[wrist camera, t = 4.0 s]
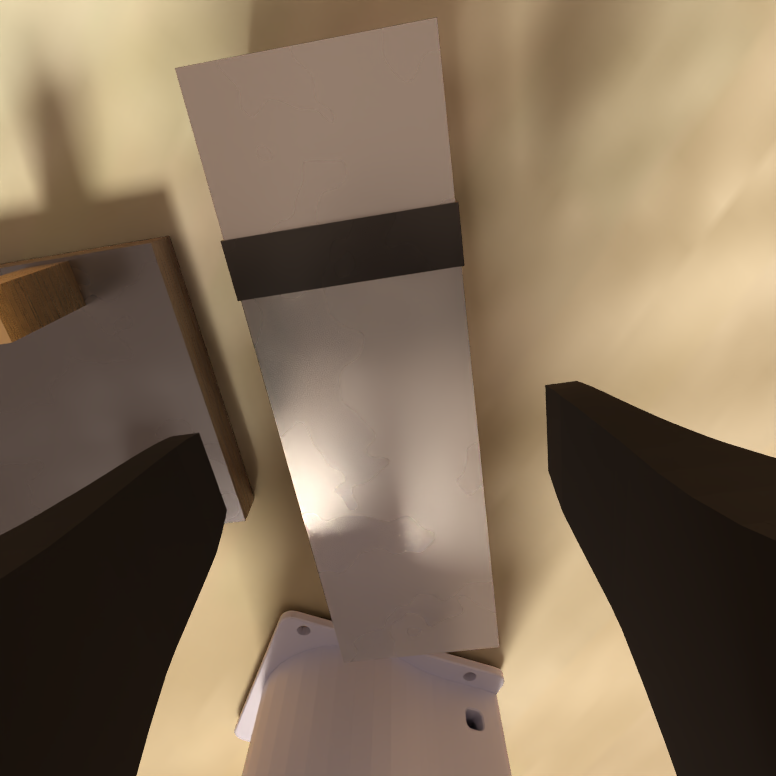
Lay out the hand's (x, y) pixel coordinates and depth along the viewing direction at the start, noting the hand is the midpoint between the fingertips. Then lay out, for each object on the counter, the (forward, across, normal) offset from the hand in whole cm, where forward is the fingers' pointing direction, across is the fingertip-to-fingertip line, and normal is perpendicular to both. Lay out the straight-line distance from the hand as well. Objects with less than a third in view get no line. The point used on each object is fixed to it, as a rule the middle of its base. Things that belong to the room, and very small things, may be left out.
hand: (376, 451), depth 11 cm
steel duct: (+6, 0, 0) cm, 6 cm away
